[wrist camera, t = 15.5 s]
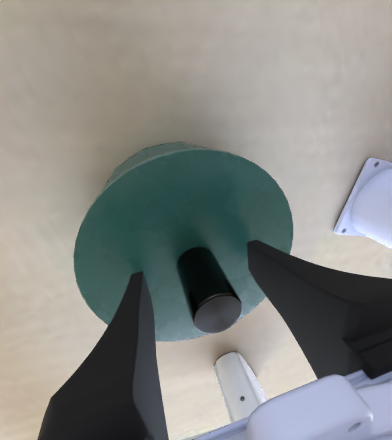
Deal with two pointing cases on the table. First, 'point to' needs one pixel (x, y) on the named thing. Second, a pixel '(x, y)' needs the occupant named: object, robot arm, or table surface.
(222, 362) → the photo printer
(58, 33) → the table surface
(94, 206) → the lid
